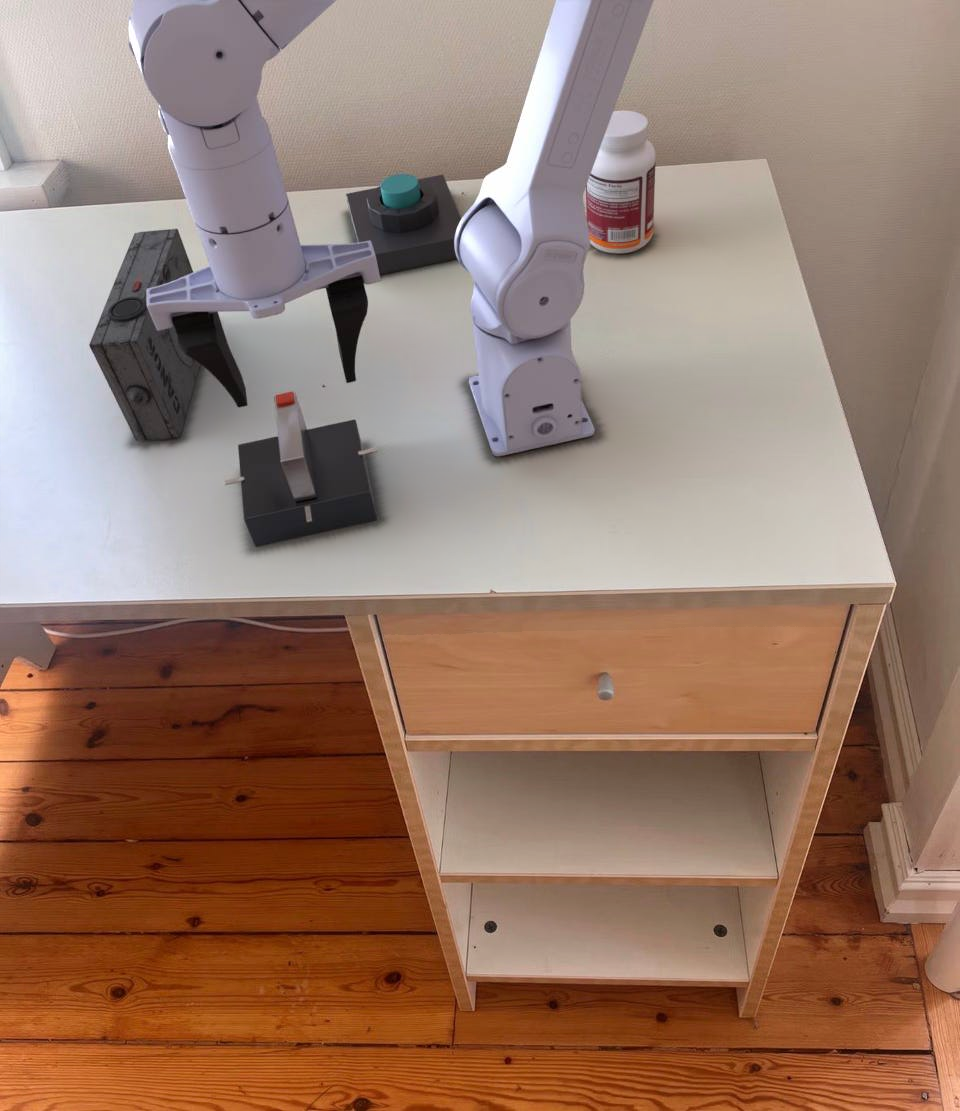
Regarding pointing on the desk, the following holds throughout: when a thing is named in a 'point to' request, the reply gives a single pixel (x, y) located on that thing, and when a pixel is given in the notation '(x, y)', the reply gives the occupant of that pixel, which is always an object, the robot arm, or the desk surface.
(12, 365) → the desk surface
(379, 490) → the desk surface
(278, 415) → the red-tipped silver slab
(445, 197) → the control block
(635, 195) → the pill bottle
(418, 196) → the button
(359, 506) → the tap deck
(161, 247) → the camera
